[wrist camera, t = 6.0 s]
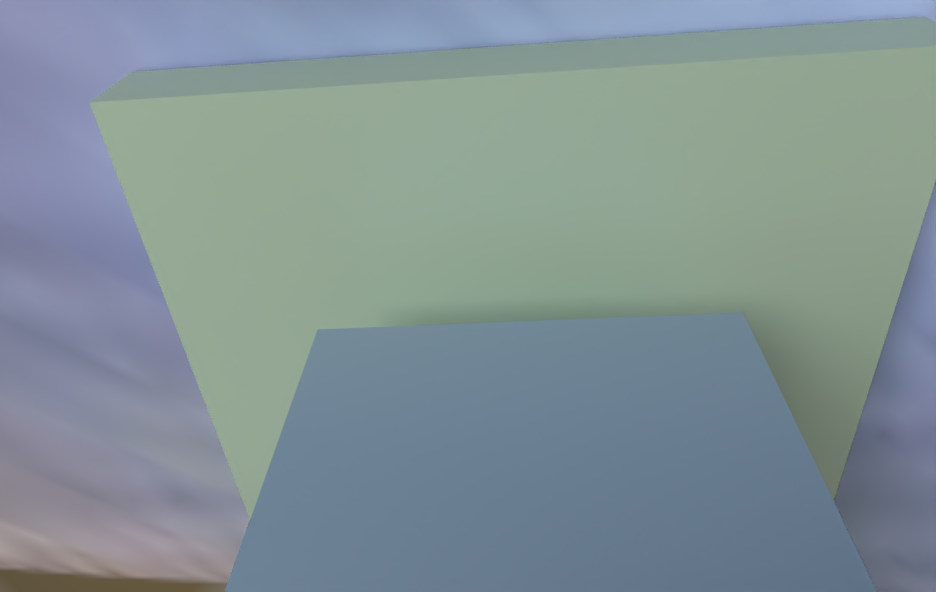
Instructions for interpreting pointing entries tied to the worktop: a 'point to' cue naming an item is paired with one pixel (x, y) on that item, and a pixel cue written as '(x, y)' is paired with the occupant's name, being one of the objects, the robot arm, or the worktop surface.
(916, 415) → the worktop surface
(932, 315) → the worktop surface
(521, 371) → the blue block
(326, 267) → the green block
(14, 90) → the worktop surface
